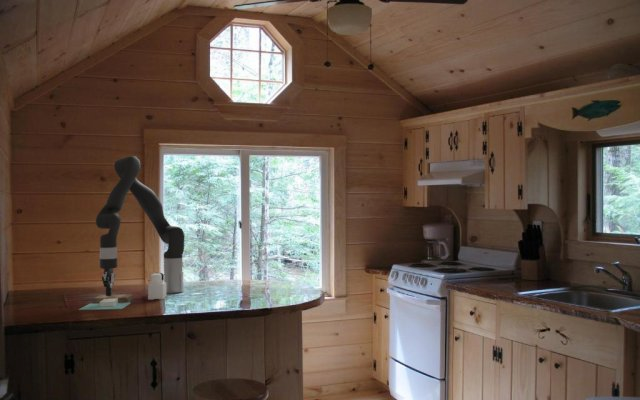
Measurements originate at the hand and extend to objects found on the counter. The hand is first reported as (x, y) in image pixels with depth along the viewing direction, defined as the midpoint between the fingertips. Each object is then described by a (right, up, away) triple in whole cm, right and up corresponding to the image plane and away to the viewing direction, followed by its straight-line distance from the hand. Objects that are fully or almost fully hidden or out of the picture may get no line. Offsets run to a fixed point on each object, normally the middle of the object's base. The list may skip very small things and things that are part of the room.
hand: (108, 295), depth 282 cm
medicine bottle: (+18, -4, +15) cm, 24 cm away
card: (+1, -3, -3) cm, 5 cm away
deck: (0, -4, +7) cm, 8 cm away
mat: (+1, -4, -6) cm, 7 cm away
